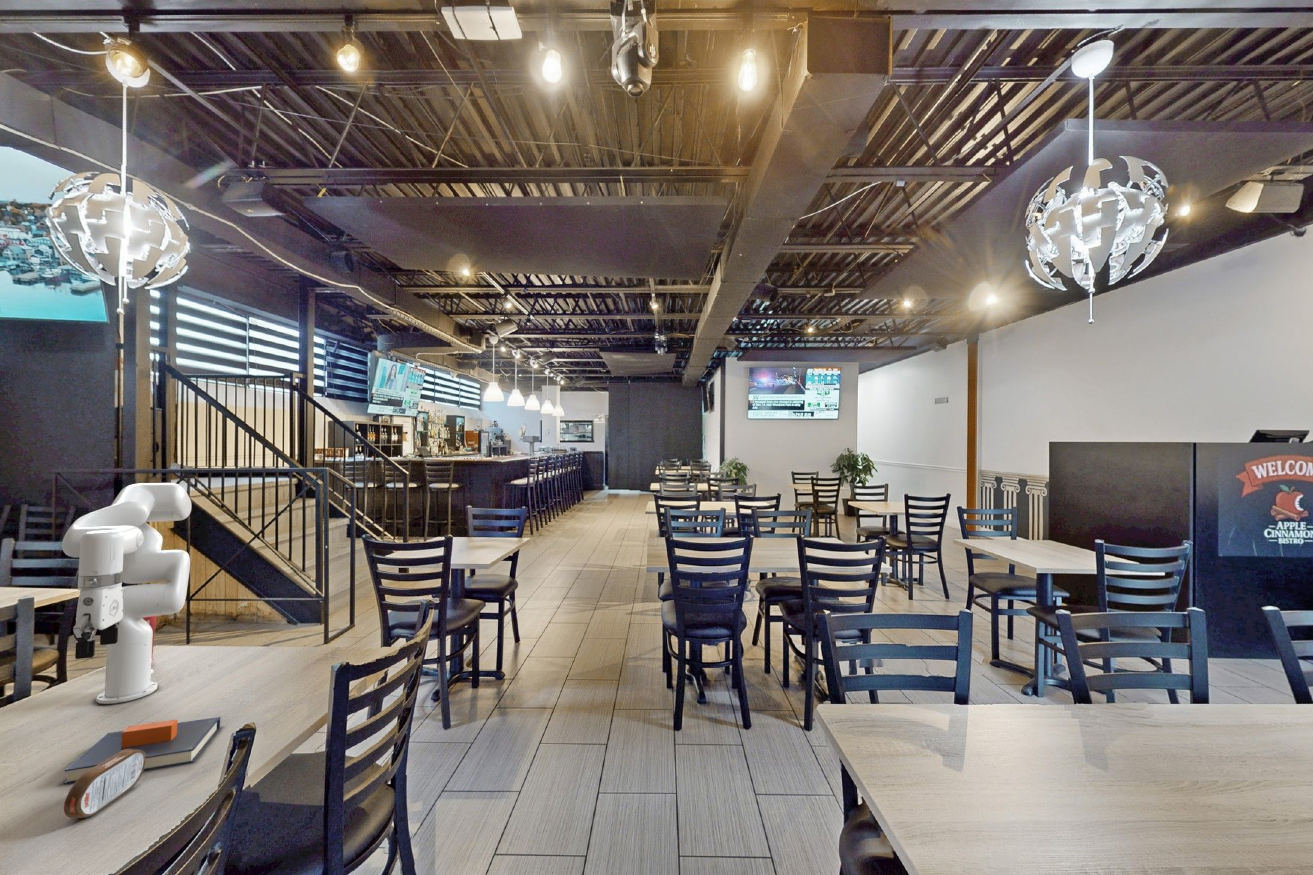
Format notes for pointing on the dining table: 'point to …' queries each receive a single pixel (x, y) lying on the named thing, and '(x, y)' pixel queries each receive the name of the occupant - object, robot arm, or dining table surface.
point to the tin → (104, 783)
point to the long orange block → (149, 733)
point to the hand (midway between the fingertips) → (97, 650)
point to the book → (151, 748)
